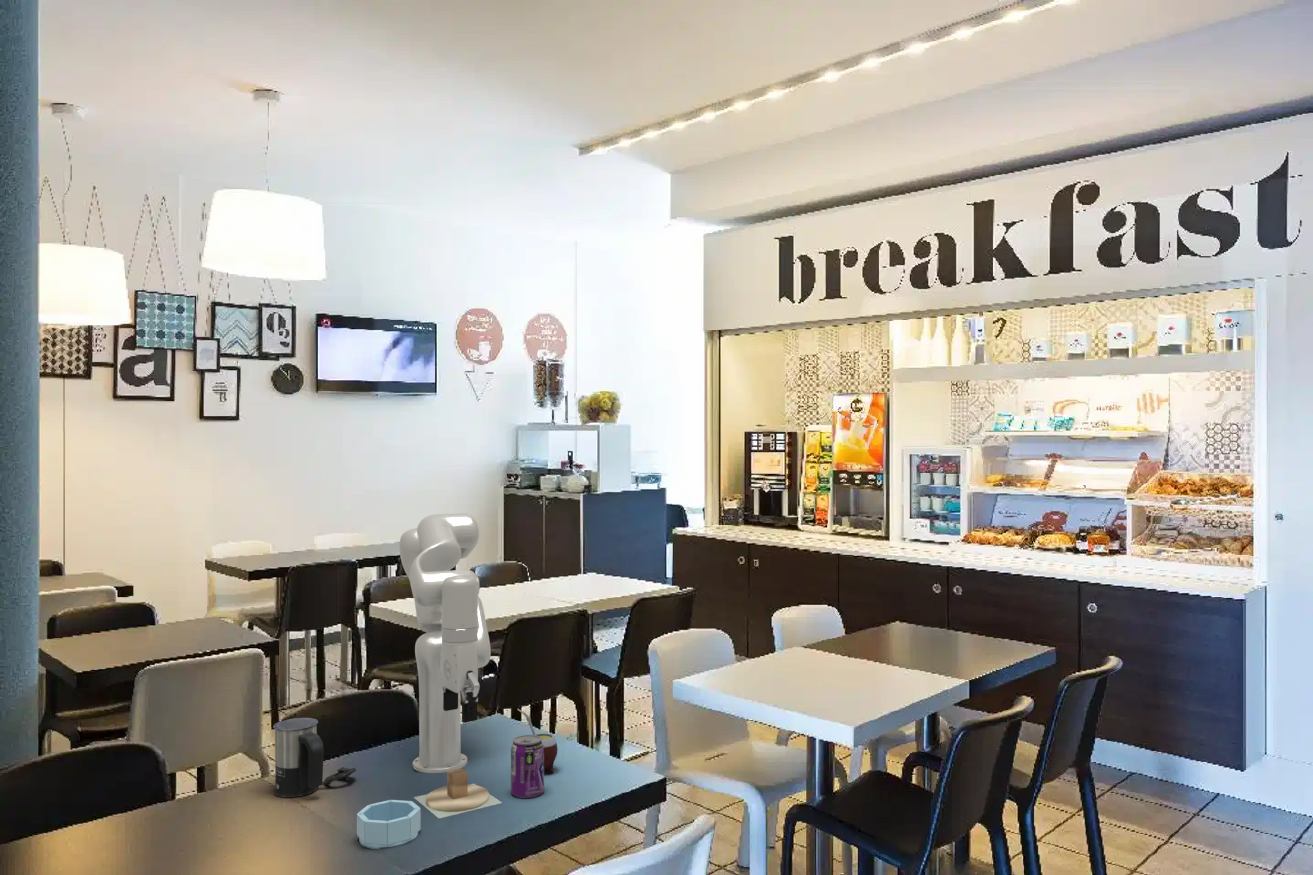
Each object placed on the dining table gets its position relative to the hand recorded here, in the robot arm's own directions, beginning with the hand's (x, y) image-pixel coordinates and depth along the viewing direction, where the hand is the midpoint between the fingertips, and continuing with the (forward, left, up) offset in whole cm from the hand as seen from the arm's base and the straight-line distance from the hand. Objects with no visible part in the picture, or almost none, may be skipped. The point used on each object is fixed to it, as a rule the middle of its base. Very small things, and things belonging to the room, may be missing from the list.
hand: (459, 715), depth 199 cm
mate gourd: (-7, +23, -19) cm, 30 cm away
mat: (-1, 0, -18) cm, 18 cm away
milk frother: (-28, -22, -19) cm, 40 cm away
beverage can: (+4, +14, -19) cm, 23 cm away
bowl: (+8, -18, -18) cm, 27 cm away
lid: (-1, 0, -18) cm, 18 cm away
